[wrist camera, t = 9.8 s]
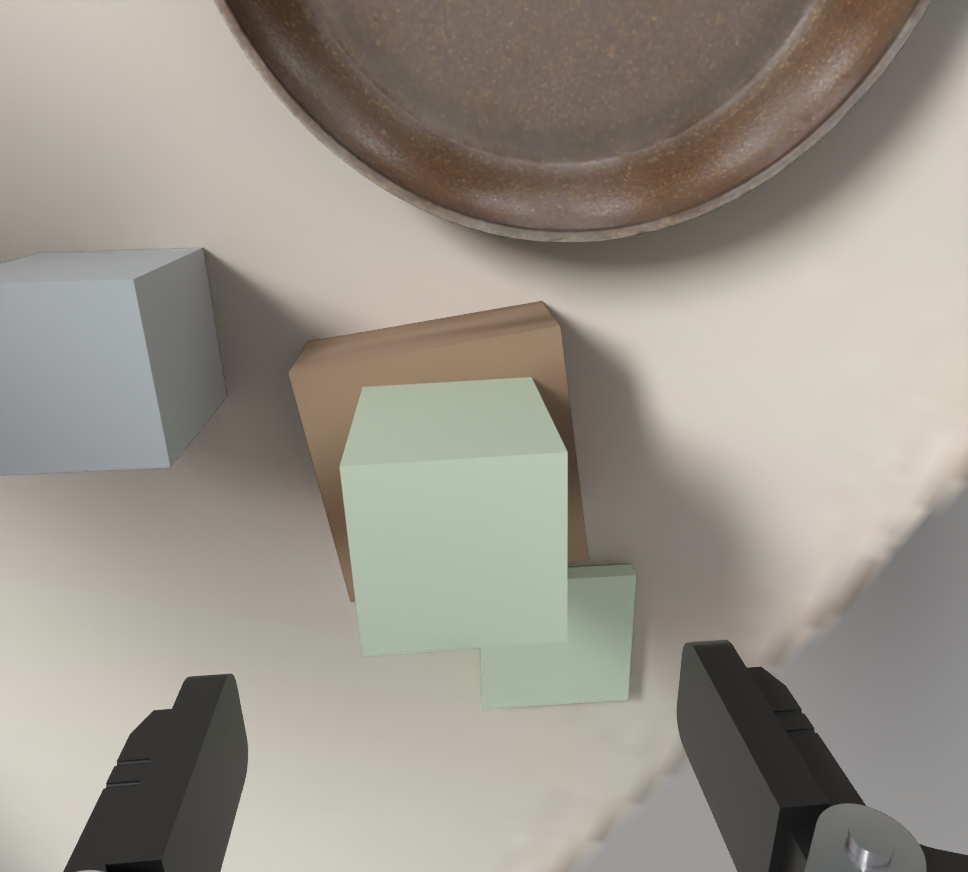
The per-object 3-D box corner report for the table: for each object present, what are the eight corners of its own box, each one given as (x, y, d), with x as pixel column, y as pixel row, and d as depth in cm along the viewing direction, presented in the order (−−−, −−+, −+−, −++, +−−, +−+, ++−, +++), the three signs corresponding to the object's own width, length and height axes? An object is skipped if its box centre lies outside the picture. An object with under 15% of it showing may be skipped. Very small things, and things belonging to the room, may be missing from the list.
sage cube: (362, 386, 21) (339, 466, 16) (531, 377, 22) (567, 451, 16) (377, 537, 23) (361, 657, 18) (534, 526, 24) (567, 641, 18)
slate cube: (41, 252, 23) (-83, 286, 17) (203, 247, 23) (133, 279, 18) (77, 402, 25) (-24, 476, 19) (227, 396, 25) (170, 467, 20)
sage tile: (478, 572, 28) (479, 583, 28) (631, 564, 29) (636, 575, 28) (481, 695, 31) (482, 709, 30) (623, 686, 31) (628, 700, 30)
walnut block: (309, 339, 25) (288, 373, 21) (540, 299, 25) (560, 326, 21) (360, 541, 28) (350, 602, 24) (567, 505, 28) (588, 560, 24)
